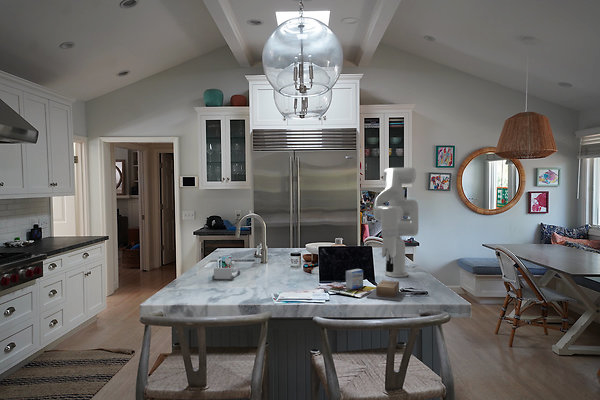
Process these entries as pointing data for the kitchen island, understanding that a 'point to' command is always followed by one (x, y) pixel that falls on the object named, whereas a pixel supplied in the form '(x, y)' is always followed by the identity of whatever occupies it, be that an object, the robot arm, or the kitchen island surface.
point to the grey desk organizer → (225, 272)
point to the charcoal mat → (397, 297)
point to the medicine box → (354, 278)
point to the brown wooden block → (387, 288)
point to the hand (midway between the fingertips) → (389, 271)
